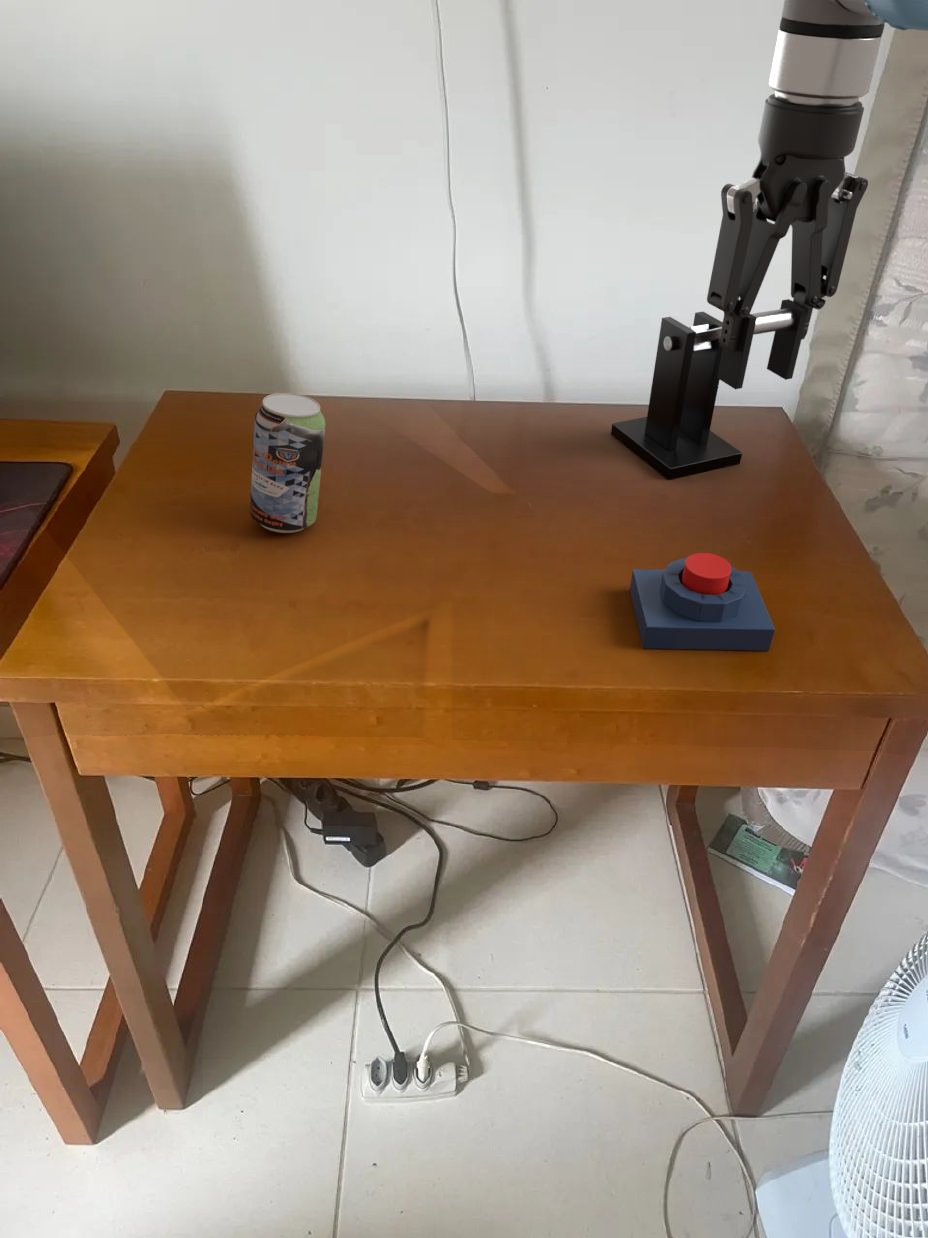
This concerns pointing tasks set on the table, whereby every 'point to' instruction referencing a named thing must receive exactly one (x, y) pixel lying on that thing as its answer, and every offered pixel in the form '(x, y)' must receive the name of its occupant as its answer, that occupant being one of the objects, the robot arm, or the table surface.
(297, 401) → the beverage can
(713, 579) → the button
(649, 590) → the button box
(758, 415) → the table surface
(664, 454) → the bracket
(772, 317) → the lever
